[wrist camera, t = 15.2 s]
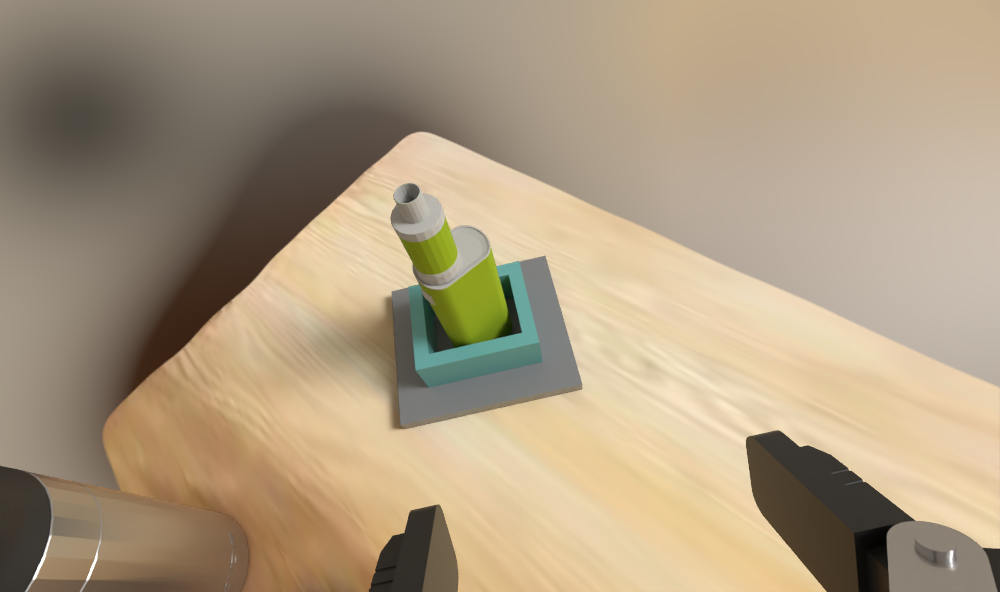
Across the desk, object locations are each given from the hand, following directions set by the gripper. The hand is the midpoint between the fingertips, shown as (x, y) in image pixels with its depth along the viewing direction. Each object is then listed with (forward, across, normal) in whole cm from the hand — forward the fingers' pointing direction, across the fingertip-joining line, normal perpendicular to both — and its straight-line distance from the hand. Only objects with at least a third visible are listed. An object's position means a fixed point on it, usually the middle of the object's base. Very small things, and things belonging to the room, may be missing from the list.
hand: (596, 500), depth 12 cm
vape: (+32, +5, +5) cm, 33 cm away
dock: (+33, +5, +5) cm, 34 cm away
